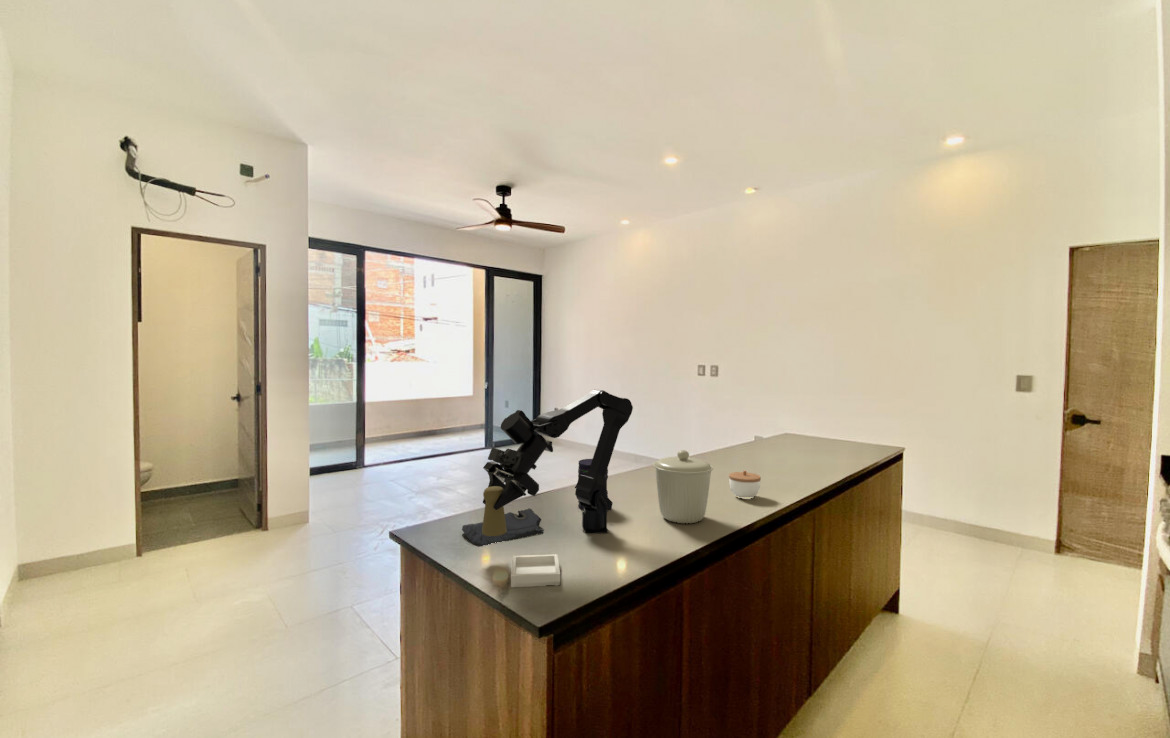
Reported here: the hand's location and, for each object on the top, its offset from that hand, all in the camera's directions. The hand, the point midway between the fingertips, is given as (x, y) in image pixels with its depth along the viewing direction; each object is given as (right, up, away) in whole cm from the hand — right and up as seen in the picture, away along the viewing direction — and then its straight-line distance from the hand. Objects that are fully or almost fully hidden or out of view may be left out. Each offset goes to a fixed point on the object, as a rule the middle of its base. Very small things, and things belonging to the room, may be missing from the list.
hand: (489, 506), depth 120 cm
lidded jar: (+80, -12, +55) cm, 98 cm away
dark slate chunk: (0, -13, +20) cm, 24 cm away
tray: (+12, -14, -8) cm, 20 cm away
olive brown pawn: (+1, -7, +1) cm, 7 cm away
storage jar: (+26, -12, +43) cm, 52 cm away
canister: (+53, -13, +32) cm, 64 cm away
